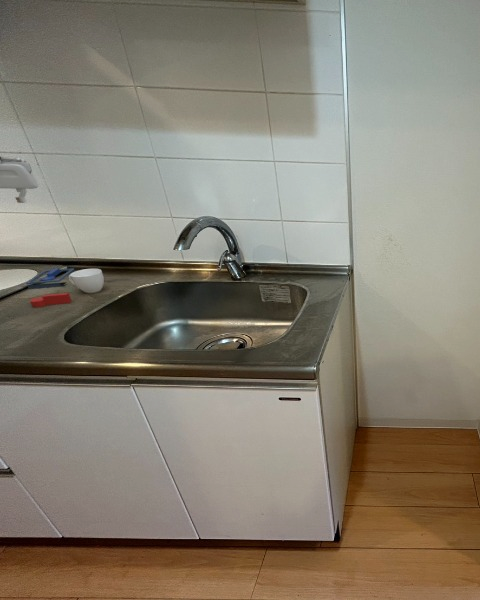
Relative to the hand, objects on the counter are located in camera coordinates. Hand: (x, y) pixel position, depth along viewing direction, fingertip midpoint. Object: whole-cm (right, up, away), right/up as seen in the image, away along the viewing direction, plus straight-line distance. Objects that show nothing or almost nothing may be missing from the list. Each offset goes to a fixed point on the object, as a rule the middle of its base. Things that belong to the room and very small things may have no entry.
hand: (2, 202), depth 101 cm
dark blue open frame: (+6, -25, +10) cm, 28 cm away
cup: (+23, -29, +6) cm, 38 cm away
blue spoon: (+6, -25, +10) cm, 28 cm away
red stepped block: (+21, -33, -4) cm, 40 cm away
